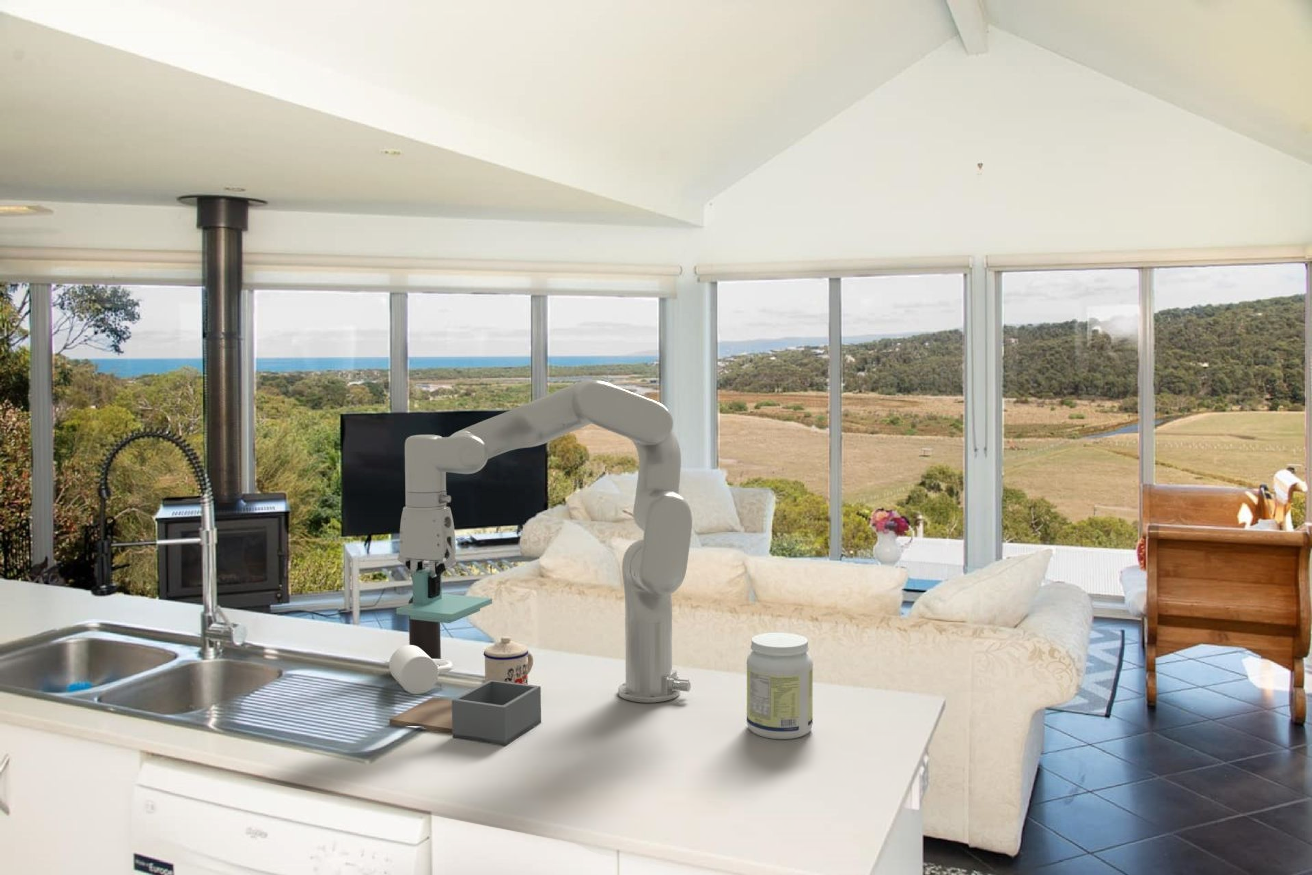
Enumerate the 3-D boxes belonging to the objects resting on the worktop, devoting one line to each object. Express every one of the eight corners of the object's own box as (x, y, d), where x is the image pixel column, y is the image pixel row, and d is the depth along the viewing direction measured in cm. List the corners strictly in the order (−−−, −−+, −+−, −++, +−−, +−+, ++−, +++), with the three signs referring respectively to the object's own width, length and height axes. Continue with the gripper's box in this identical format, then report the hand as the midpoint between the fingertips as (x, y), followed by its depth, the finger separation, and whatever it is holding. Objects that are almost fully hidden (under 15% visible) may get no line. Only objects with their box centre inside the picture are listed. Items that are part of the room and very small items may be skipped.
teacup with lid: (506, 702, 210) (505, 645, 209) (474, 694, 215) (473, 638, 214) (547, 687, 219) (547, 632, 218) (516, 679, 225) (516, 626, 224)
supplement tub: (774, 713, 202) (774, 627, 201) (826, 729, 194) (826, 639, 192) (732, 729, 194) (732, 639, 193) (784, 746, 185) (785, 652, 184)
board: (493, 710, 205) (493, 705, 205) (452, 734, 192) (452, 728, 192) (433, 701, 210) (433, 696, 210) (389, 724, 197) (389, 718, 197)
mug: (400, 697, 214) (400, 658, 213) (389, 684, 222) (388, 647, 222) (458, 688, 219) (457, 651, 219) (444, 676, 228) (444, 639, 227)
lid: (492, 609, 203) (491, 567, 202) (451, 626, 190) (451, 581, 190) (439, 604, 208) (439, 563, 207) (396, 620, 195) (395, 576, 194)
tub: (541, 722, 198) (540, 686, 197) (505, 745, 186) (504, 707, 185) (490, 715, 202) (490, 679, 202) (452, 737, 190) (451, 699, 190)
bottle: (447, 664, 237) (445, 576, 235) (428, 672, 230) (426, 582, 229) (422, 660, 239) (420, 574, 238) (403, 668, 233) (401, 579, 232)
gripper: (473, 500, 199) (474, 595, 201) (402, 495, 205) (403, 588, 207) (451, 504, 192) (452, 604, 194) (378, 500, 198) (380, 596, 200)
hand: (427, 595), depth 200 cm, fingers closed on lid
